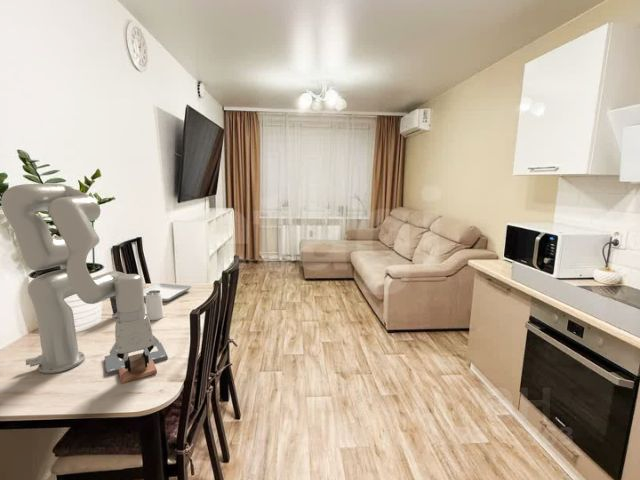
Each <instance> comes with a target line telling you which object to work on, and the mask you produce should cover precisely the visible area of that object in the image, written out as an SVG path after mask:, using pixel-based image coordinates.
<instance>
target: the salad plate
mask: <svg viewBox="0 0 640 480" xmlns="http://www.w3.org/2000/svg"><path fill="white" fill-rule="evenodd" d="M191 288H192V285H184V284H174V283H163V282H162V283H156V284H155V285H151V286H150V287H147V288H145V289H144V288H143V294H144V301H146V293H147V292H149V291H153V290H159V291H160V293H161V295H162V302H169V301H171V300H173V299H175V298H176V297H179V296H180V295H182V294H184V293H186V292H188V291H189V290H190V289H191Z"/></svg>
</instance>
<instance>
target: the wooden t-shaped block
mask: <svg viewBox="0 0 640 480" xmlns="http://www.w3.org/2000/svg"><path fill="white" fill-rule="evenodd" d="M128 357H129V359H130V368H131V371H130V372H128V369H125V367H124V368H120V369H119V373H118V374H119V378H120V383H121V384H124V383H128V382H131V381H136V380H137V379H141V378H144V377H148V376H152V375H155V374H157V373H158V370H157V369H158V368H157V367H156V365H155V363H154V362H153V360H150V361H149V363H147V367H146V368H145V359H144V357H143V354H142V353H139V354H136V355H132V356H128Z"/></svg>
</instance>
